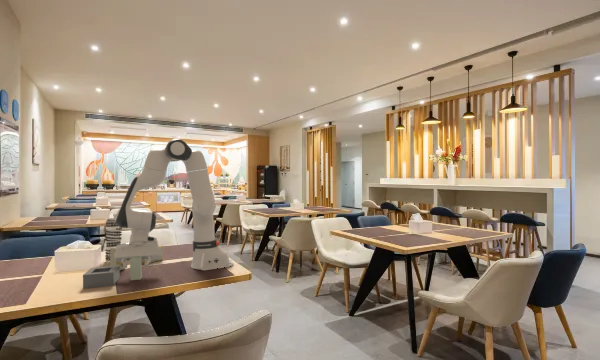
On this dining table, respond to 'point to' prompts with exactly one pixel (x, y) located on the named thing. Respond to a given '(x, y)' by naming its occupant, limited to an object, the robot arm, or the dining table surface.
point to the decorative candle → (111, 236)
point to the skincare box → (112, 260)
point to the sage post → (136, 268)
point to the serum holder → (101, 276)
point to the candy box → (155, 258)
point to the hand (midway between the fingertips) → (135, 266)
